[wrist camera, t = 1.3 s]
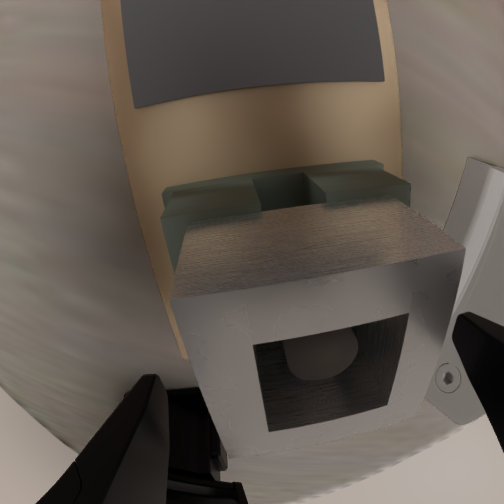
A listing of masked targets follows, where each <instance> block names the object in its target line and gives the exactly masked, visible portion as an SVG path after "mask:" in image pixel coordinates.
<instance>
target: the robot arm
mask: <svg viewBox="0 0 504 504" xmlns="http://www.w3.org/2000/svg"><path fill="white" fill-rule="evenodd" d="M452 341H453V343H454V346H455V348H456V350H457V353H458V355H459V357H460V360H461V362H462V364H463V367H464V369H465V372H466V374H467V376H468V379H469V381H470V383H471V385H472V387H473V388H474V390H475V392H476V394H477V396H478V398H479V400H480V402H481V404H482V406H483V408H484V410H485V412H486V414H487V416H488V418H489V421H490V423H491V425H492V427H493V429H494V432H495V434H496V436H497V438H498V441H499V443H500V445H501V447H502V450H503V452H504V326H502V325H499V324H497V323H495V322H493V321H490V320H488V319H486V318H484V317H481V316H479V315H477V314H474V313H472V312H469V311H467V312H464V313H461V314H459V315H458V316H457V318H456V322H455V325H454V329H453V332H452ZM227 468H228V465H227V452H226V450H225V448H224V446H223V443H222V441H221V439H220V436H219V434H218V432H217V429H216V427H215V425H214V422H213V420H212V417H211V415H210V413H209V410H208V408H207V405H206V403H205V400H204V398H203V395H202V392H201V390H200V389H191V390H179V391H166V390H165V388H164V386H163V384H162V382H161V380H160V377H159V376H158V375H157V374H145V375H143V376H142V377H141V378H140V379H139V380H138V382H137V383H136V384H135V385H134V387H133V388H132V389H131V390H130V391H129V393H127V394H125V395H124V398H123V400H122V401H121V403H120V404H119V405H118V406H117V408H116V409H115V410H114V411H113V413H112V414H111V415H110V416H109V418H108V419H107V420H106V421H105V423H104V424H103V425H102V426H101V428H100V429H99V430H98V431H97V433H96V434H95V435H94V436H93V438H92V439H91V440H90V441H89V443H88V444H87V445H86V446H85V448H84V449H83V450H82V452H81V453H80V454H79V455H78V457H77V458H76V459H75V461H74V462H73V463H72V464H71V465H70V467H69V468H68V469H67V470H66V471H65V473H64V474H63V475H62V476H61V477H60V479H59V480H58V481H57V482H56V483H55V484H54V486H52V488H50V490H49V491H48V492H47V493H46V494H45V495H44V496H43V497H42V498H41V499H40V500H39V501H38V502H37V503H36V504H248V501H247V498H246V495H245V492H244V489H243V486H242V483H241V482H232V483H230V482H223V481H220V471H225V470H226V469H227Z"/></svg>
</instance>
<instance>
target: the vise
mask: <svg viewBox="0 0 504 504" xmlns="http://www.w3.org/2000/svg"><path fill="white" fill-rule="evenodd" d="M373 2H374V8H375V13H376V19H377V25H378V31H379V37H380V44H381V51H382V59H383V67H384V76H385V81H384V82H358V81H352V82H314V83H296V84H283V85H272V86H262V87H253V88H245V89H237V90H230V91H223V92H216V93H210V94H204V95H199V96H193V97H188V98H183V99H178V100H173V101H168V102H163V103H159V104H155V105H150V106H146V107H142V108H137V109H134V104H133V97H132V91H131V85H130V78H129V71H128V64H127V57H126V49H125V41H124V33H123V24H122V14H121V3H120V0H101V5H102V18H103V29H104V38H105V47H106V55H107V63H108V71H109V78H110V84H111V91H112V97H113V103H114V109H115V115H116V120H117V126H118V131H119V136H120V141H121V146H122V151H123V156H124V160H125V165H126V169H127V174H128V178H129V182H130V187H131V191H132V195H133V199H134V203H135V207H136V211H137V215H138V219H139V223H140V226H141V230H142V234H143V237H144V241H145V245H146V248H147V252H148V255H149V258H150V262H151V265H152V268H153V272H154V275H155V278H156V282H157V285H158V288H159V291H160V294H161V297H162V300H163V303H164V306H165V309H166V312H167V315H168V318H169V321H170V324H171V327H172V330H173V333H174V336H175V338H176V341H177V344H178V347H179V349H180V352H181V355H182V357H183V360H184V359H189V358H188V355H187V352H186V349H185V346H184V344H183V341H182V338H181V335H180V332H179V329H178V326H177V323H176V320H175V317H174V314H173V311H172V308H171V305H170V302H169V298H170V293H171V289H172V285H173V281H174V276H175V272H176V268H177V264H178V260H179V256H180V252H181V248H182V244H183V240H184V236H185V233H186V229H187V225H188V223H193V222H199V221H205V220H211V219H217V218H223V217H230V216H236V215H243V214H249V213H256V212H262V211H269V210H276V209H283V208H290V207H297V206H305V205H312V204H320V203H327V202H335V201H343V200H351V199H359V198H368V197H376V196H385V195H391V196H393V197H394V198H396V199H397V200H399V201H400V202H402V203H403V204H405V205H406V206H408V207H409V208H410V191H411V184H410V183H408V182H406V181H404V180H402V134H401V113H400V98H399V86H398V76H397V67H396V58H395V50H394V43H393V36H392V30H391V24H390V18H389V13H388V7H387V2H386V0H373ZM282 343H283V347H284V351H285V355H286V360H287V364H288V367H289V370H290V371H291V372H292V373H293V374H294V375H295V376H296V377H298V378H301V379H304V380H312V381H315V380H323V379H327V378H330V377H333V376H335V375H337V374H339V373H340V372H342V371H343V370H345V369H346V368H347V367H348V366H349V365H350V364H351V363H352V362H353V360H354V359H355V357H356V355H357V352H358V341H357V339H356V337H355V335H354V333H353V331H352V329H351V327H347V328H342V329H338V330H333V331H328V332H323V333H318V334H313V335H307V336H302V337H297V338H291V339H285V340H282Z"/></svg>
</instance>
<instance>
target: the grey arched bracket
mask: <svg viewBox="0 0 504 504" xmlns="http://www.w3.org/2000/svg"><path fill="white" fill-rule="evenodd" d="M444 232H445V233H447V234H448V235H449V236H451V237H452V238H453V239H455V240H456V241H457V242H459V243H460V244H461V245H463V246H464V247H465V248H466V253H465V258H464V264H463V269H462V274H461V278H460V283H459V287H458V292H457V296H456V300H455V304H454V308H453V312H452V316H451V319H450V323H449V326H448V330H447V333H446V337H445V340H444V343H443V346H442V349H441V353H440V356H439V359H438V362H437V364H436V367H435V370H434V373H433V376H432V378H431V381H430V384H429V386H428V389H427V391H426V394H425V397H424V398H425V399H426V400H427V401H428V402H430V403H431V404H432V405H433V406H435V407H436V408H437V409H438V410H439V411H441V412H442V413H443V414H444V415H446V416H447V417H448V418H449V419H451V420H452V421H453V422H454V423H456V424H459V425H464V424H468V423H470V422H472V421H473V420H475V419H477V418H479V417H481V416H483V415H484V414H486V412H485V410H484V408H483V406H482V404H481V402H480V400H479V398H478V396H477V394H476V392H475V390H474V388H473V387H472V385H471V383H470V381H469V379H468V376H467V374H466V372H465V369H464V367H463V364H462V362H461V360H460V357H459V355H458V353H457V350H456V348H455V346H454V343H453V341H452V332H453V329H454V325H455V322H456V318H457V316H458V315H459V314H461V313H464V312H467V311H469V312H472V313H474V314H477V315H479V316H481V317H484V318H486V319H488V320H490V321H493V322H495V323H497V324H499V325H502V326H504V169H503V168H501V167H496V166H491V165H488V164H486V163H484V162H481V161H479V160H476V159H474V158H470V157H468V159H467V163H466V166H465V169H464V173H463V176H462V179H461V182H460V186H459V189H458V192H457V195H456V198H455V201H454V203H453V206H452V209H451V212H450V215H449V217H448V220H447V223H446V225H445V228H444Z"/></svg>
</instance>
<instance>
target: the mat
mask: <svg viewBox="0 0 504 504" xmlns="http://www.w3.org/2000/svg"><path fill="white" fill-rule="evenodd" d="M120 3H121V14H122V24H123V33H124V41H125V49H126V57H127V64H128V71H129V78H130V85H131V91H132V97H133V104H134V109H137V108H142V107H146V106H150V105H155V104H159V103H163V102H168V101H173V100H178V99H183V98H188V97H193V96H199V95H204V94H210V93H216V92H223V91H230V90H237V89H245V88H253V87H262V86H272V85H283V84H296V83H314V82H352V81H358V82H384V81H385V76H384V67H383V59H382V51H381V44H380V37H379V31H378V25H377V19H376V13H375V8H374V2H373V0H120Z"/></svg>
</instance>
